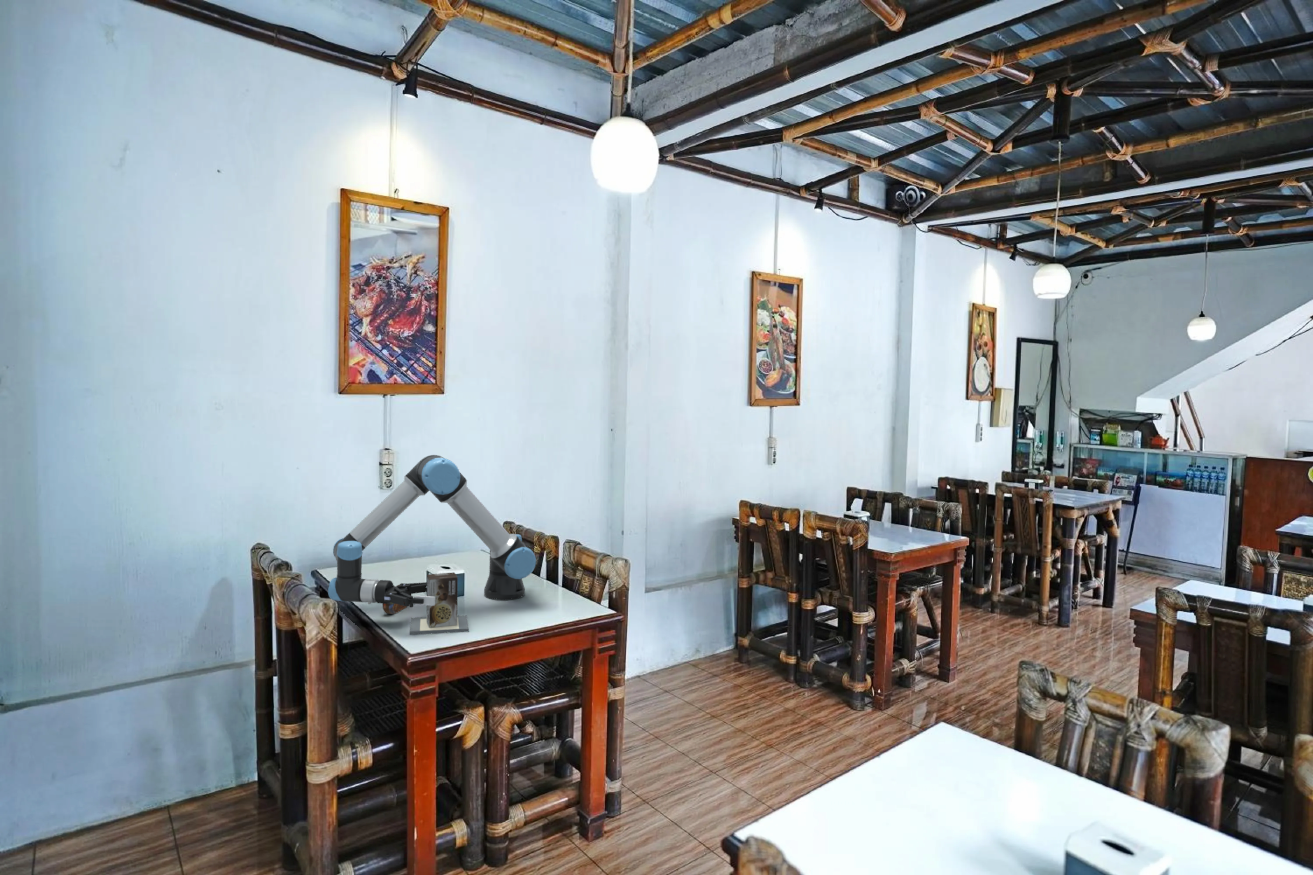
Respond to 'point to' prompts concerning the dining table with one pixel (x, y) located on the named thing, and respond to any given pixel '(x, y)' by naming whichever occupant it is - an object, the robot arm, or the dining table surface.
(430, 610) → the coffee box
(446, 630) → the mat
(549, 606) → the dining table surface
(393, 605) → the tin
